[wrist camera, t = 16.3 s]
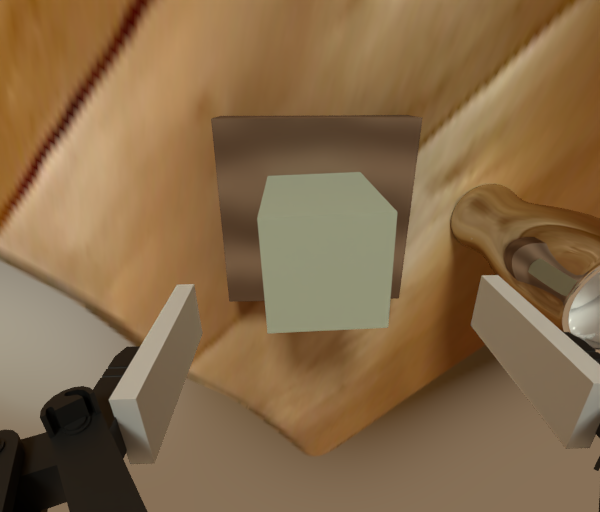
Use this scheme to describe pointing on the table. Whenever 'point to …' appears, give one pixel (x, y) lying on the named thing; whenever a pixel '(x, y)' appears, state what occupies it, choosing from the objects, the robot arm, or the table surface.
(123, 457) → the robot arm
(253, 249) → the walnut block
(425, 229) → the table surface
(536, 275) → the beer glass
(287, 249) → the sage block
